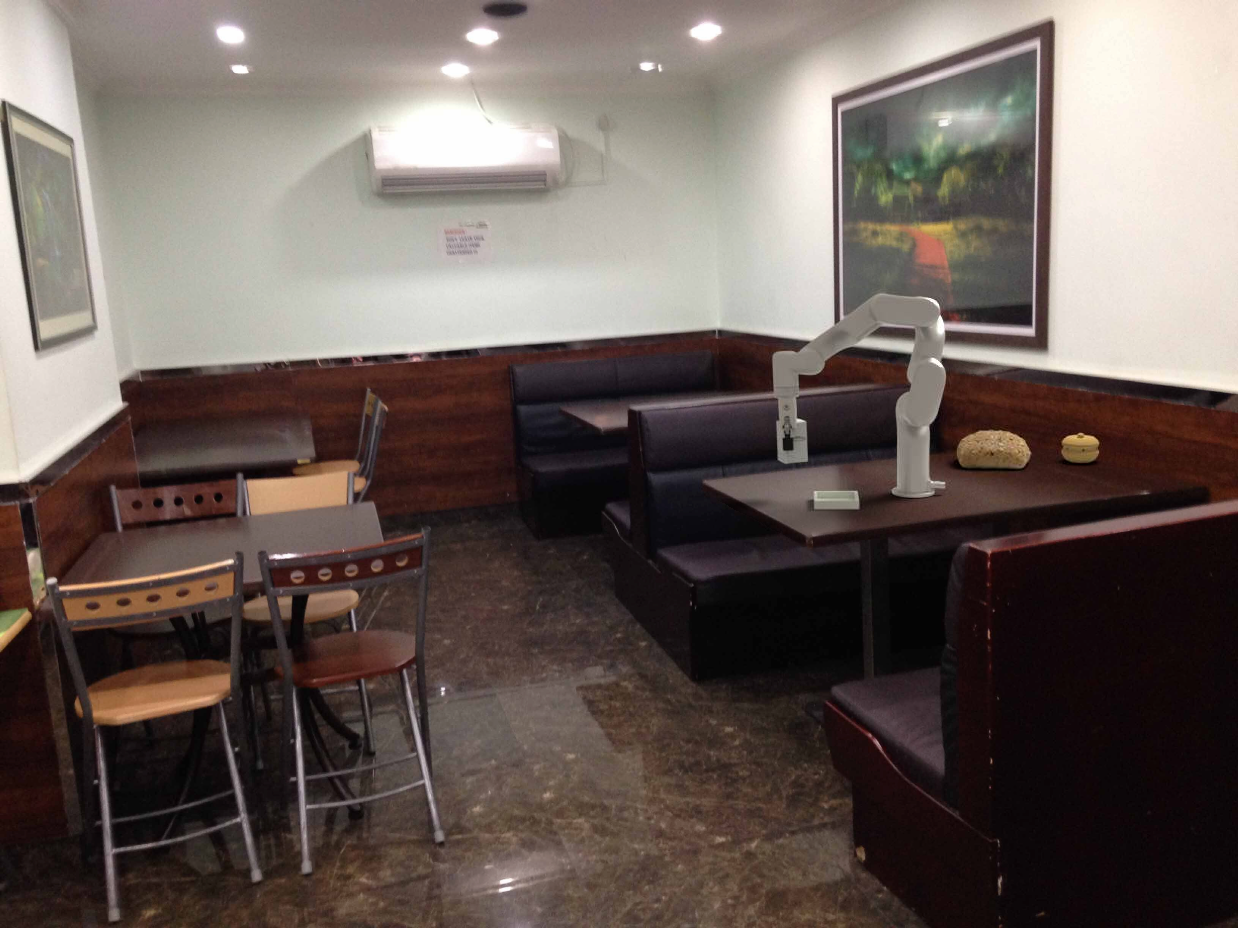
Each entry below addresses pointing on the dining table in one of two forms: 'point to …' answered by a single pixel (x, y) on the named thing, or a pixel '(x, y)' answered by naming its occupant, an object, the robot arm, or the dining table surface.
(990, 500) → the dining table surface
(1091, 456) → the pot
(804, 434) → the supplement box
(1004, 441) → the bread
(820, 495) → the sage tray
